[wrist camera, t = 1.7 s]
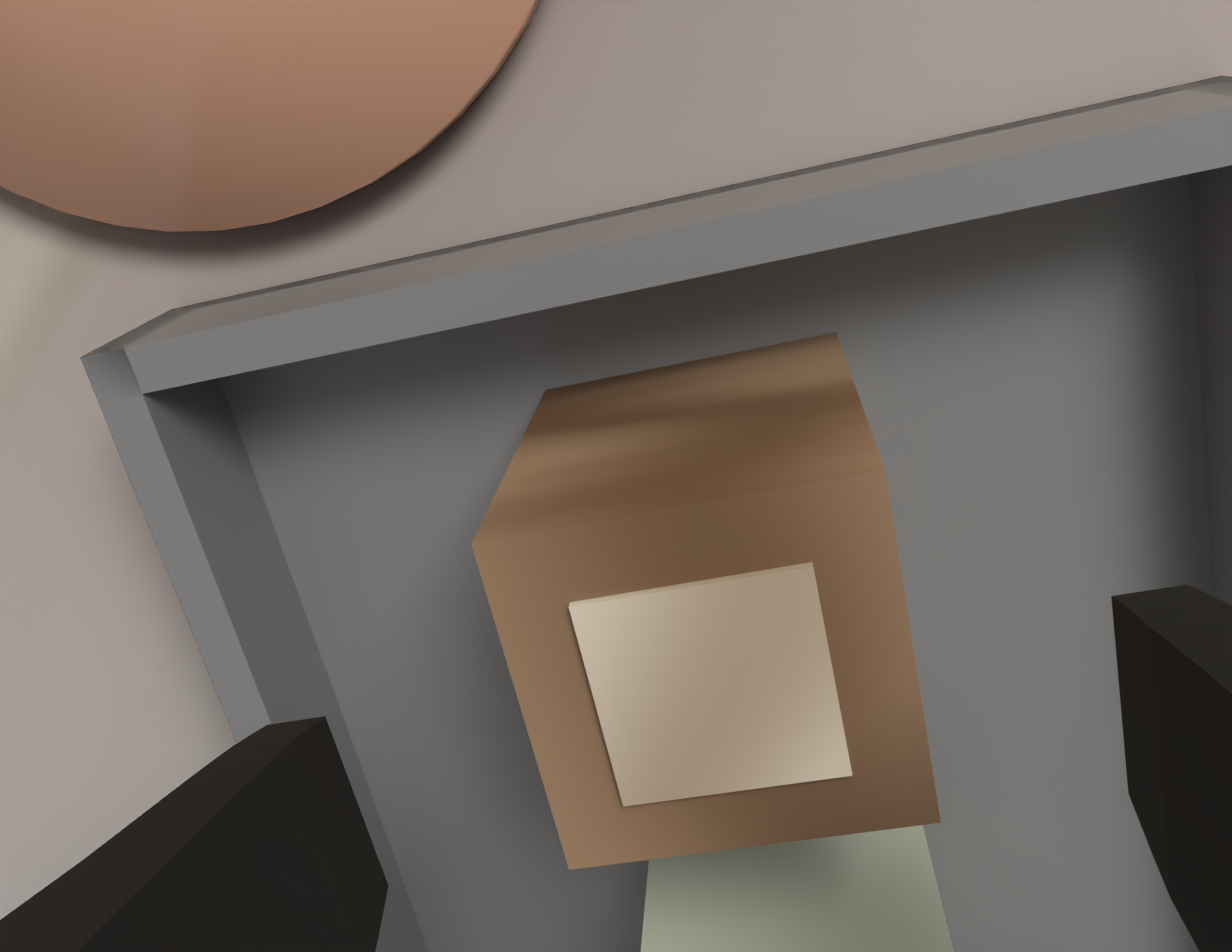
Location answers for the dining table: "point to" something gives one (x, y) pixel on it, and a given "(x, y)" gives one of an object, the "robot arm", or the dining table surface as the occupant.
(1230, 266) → the parts bin
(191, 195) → the saucer
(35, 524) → the dining table surface
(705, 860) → the sage block
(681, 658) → the walnut block
